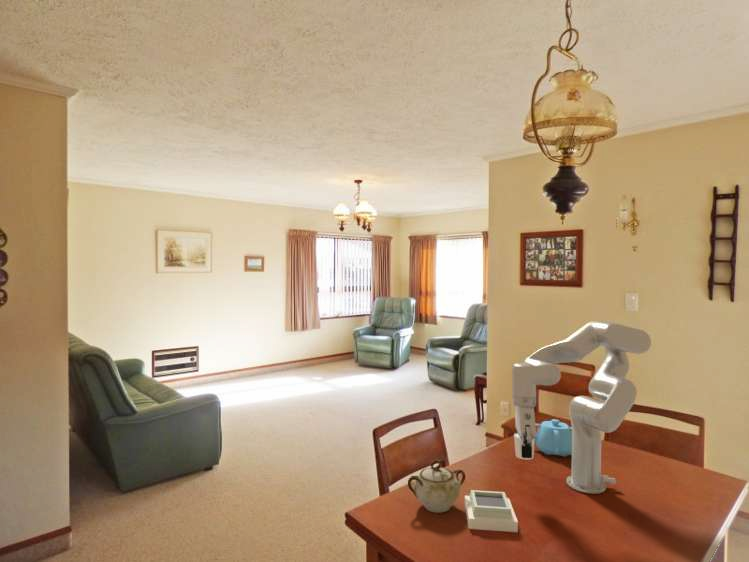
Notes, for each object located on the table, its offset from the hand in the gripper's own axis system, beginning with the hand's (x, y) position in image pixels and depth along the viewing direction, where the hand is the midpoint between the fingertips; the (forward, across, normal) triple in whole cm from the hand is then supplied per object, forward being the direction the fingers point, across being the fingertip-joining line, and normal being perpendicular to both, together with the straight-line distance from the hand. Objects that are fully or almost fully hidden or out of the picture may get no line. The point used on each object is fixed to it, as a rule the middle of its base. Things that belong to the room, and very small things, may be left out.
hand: (524, 452), depth 151 cm
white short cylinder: (+1, 0, 0) cm, 1 cm away
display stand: (+14, -15, +14) cm, 25 cm away
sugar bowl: (+14, -10, +30) cm, 35 cm away
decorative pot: (+16, +42, -21) cm, 49 cm away
